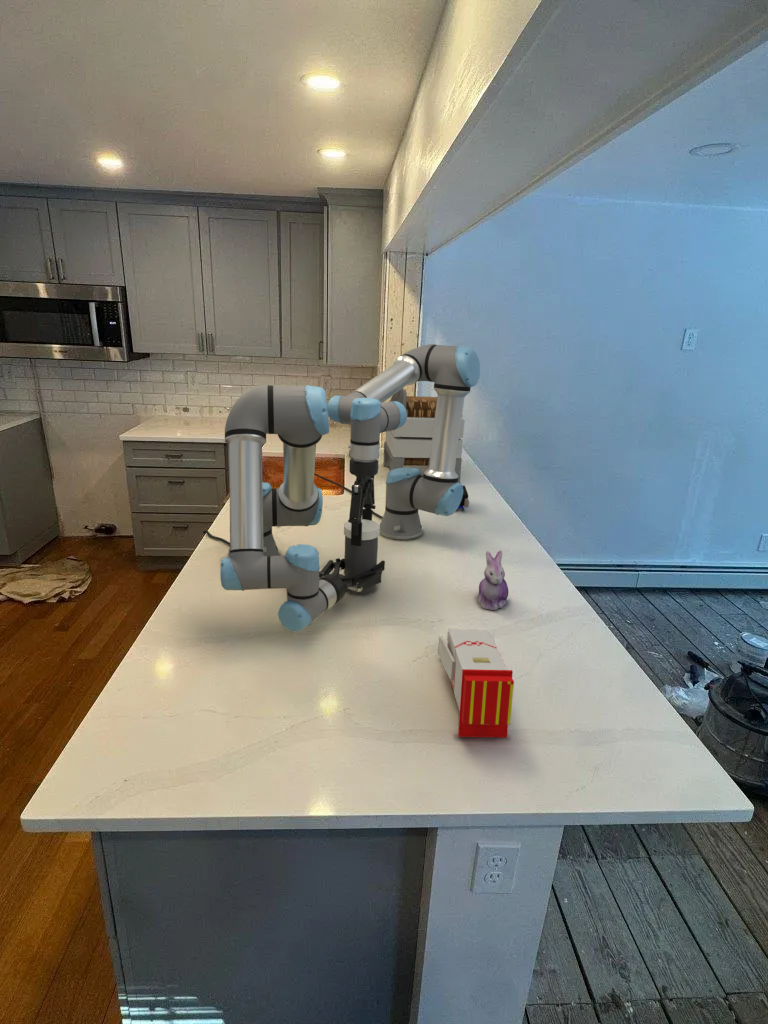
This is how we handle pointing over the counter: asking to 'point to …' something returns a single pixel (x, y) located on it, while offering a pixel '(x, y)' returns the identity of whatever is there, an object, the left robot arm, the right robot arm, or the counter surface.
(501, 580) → the figurine
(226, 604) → the counter surface
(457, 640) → the toy
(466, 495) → the figurine character
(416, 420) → the grey and brown box
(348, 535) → the lid
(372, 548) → the jar
